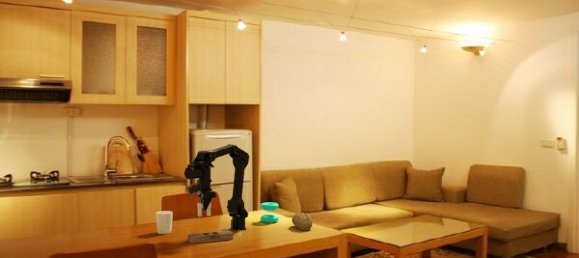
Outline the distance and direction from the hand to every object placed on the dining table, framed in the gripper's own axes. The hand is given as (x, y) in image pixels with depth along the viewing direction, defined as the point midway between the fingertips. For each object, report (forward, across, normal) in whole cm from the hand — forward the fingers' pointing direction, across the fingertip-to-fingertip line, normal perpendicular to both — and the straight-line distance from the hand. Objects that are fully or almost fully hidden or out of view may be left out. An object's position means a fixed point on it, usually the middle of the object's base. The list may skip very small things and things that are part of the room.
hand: (204, 210), depth 240 cm
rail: (+13, +5, +2) cm, 14 cm away
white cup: (+13, -18, -15) cm, 27 cm away
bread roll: (+13, -1, +52) cm, 54 cm away
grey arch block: (+2, 0, 0) cm, 3 cm away
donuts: (+13, -22, +43) cm, 50 cm away
